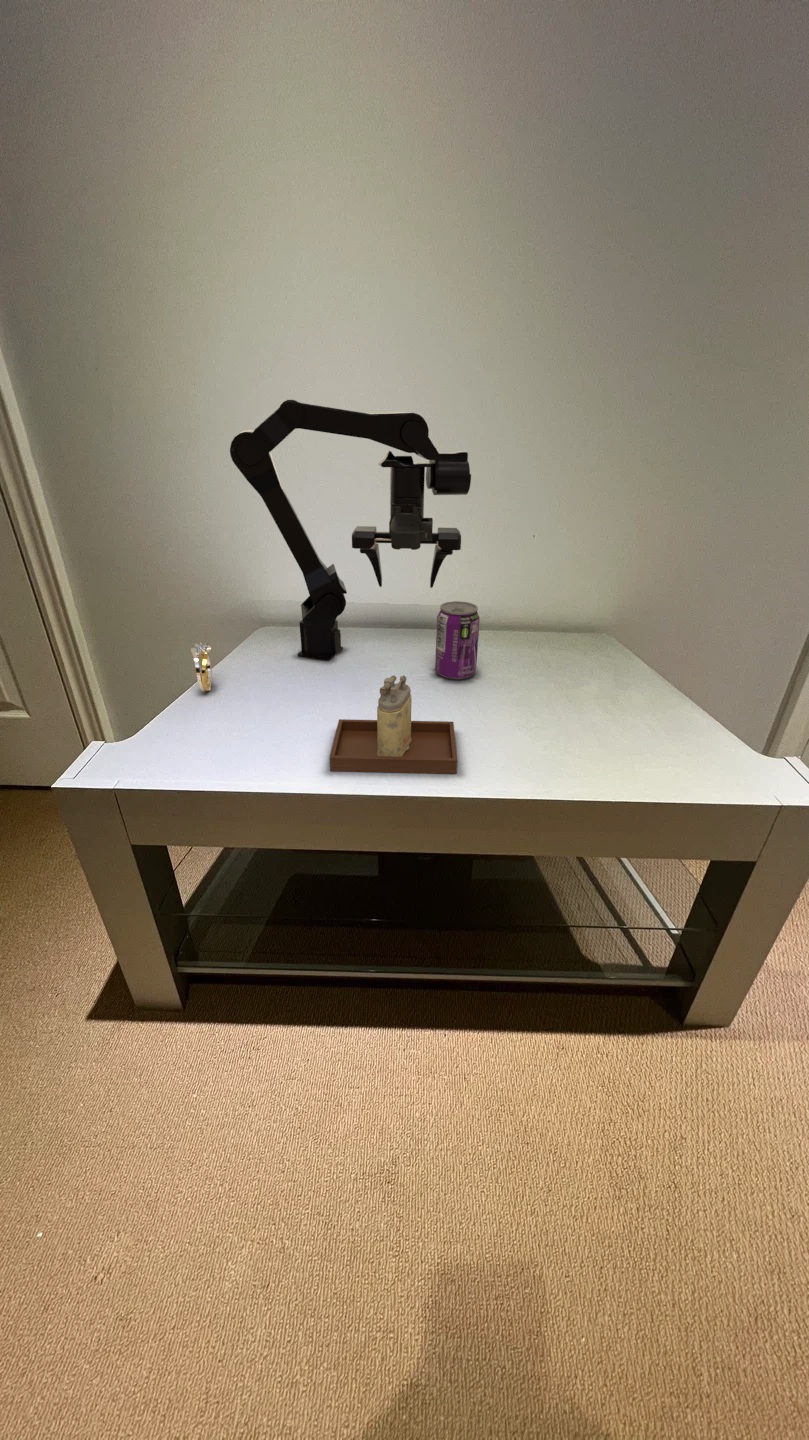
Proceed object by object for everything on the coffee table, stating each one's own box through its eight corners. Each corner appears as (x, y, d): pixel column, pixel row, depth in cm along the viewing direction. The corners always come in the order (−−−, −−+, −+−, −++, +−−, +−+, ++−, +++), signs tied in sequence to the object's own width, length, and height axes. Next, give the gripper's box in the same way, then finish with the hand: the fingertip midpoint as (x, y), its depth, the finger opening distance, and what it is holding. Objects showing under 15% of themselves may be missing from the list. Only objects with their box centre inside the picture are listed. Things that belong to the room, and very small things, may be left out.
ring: (213, 699, 93) (205, 652, 90) (192, 699, 93) (184, 652, 89) (221, 680, 100) (215, 635, 96) (202, 681, 99) (194, 636, 95)
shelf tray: (330, 771, 76) (329, 757, 75) (339, 732, 85) (338, 719, 84) (456, 774, 76) (457, 760, 75) (452, 734, 85) (453, 721, 84)
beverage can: (473, 683, 100) (478, 615, 94) (431, 680, 101) (434, 612, 95) (477, 667, 106) (482, 602, 100) (438, 663, 107) (440, 599, 101)
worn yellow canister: (390, 733, 83) (390, 667, 79) (416, 737, 83) (418, 671, 78) (373, 758, 78) (372, 690, 73) (401, 763, 77) (401, 694, 72)
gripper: (346, 502, 93) (350, 599, 101) (465, 504, 93) (460, 601, 100) (353, 492, 103) (356, 581, 110) (461, 494, 103) (456, 583, 110)
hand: (405, 586), depth 108 cm, fingers open, 9 cm apart
